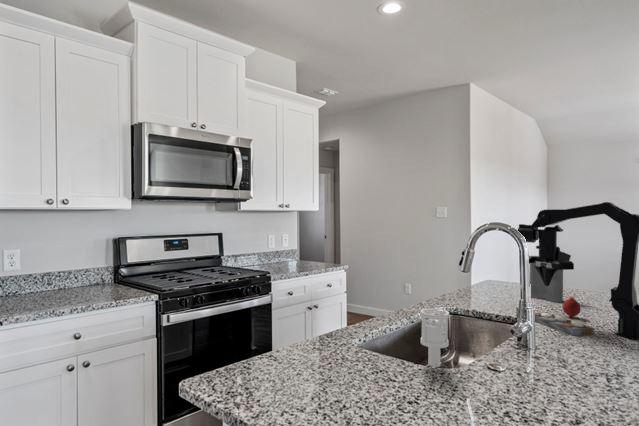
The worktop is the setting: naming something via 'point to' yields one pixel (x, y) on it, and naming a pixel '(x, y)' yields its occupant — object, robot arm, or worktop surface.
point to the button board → (563, 325)
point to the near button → (577, 323)
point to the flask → (546, 292)
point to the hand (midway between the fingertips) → (547, 285)
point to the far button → (546, 314)
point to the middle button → (561, 318)
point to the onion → (571, 307)
